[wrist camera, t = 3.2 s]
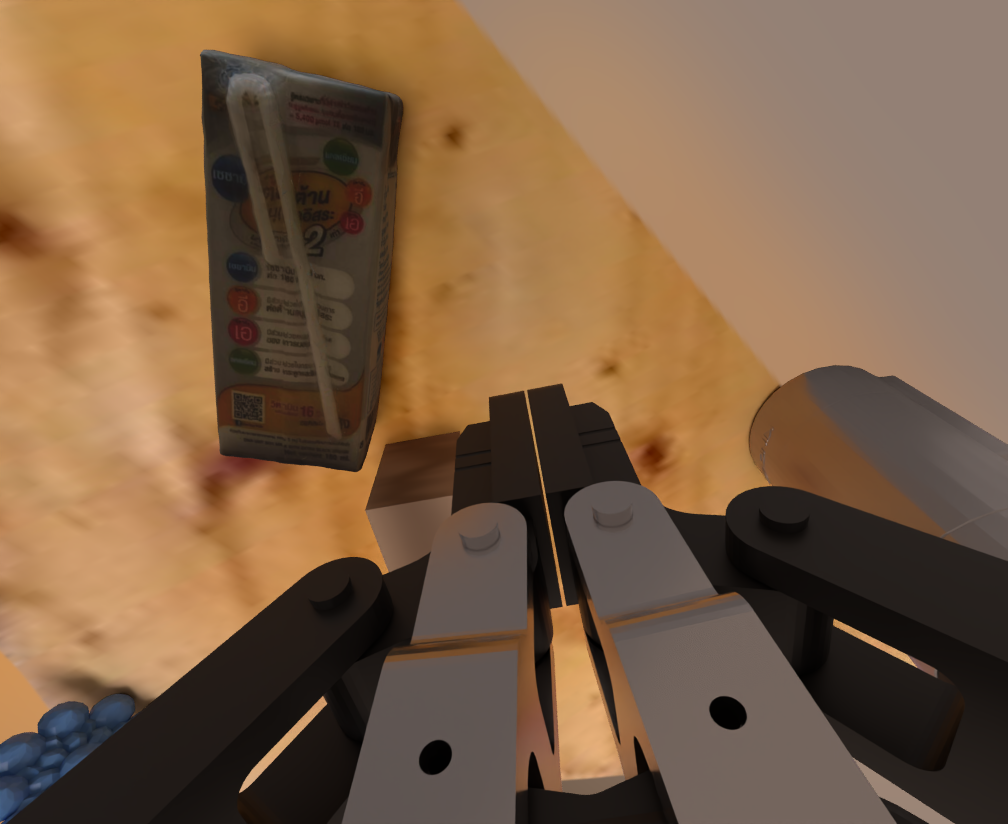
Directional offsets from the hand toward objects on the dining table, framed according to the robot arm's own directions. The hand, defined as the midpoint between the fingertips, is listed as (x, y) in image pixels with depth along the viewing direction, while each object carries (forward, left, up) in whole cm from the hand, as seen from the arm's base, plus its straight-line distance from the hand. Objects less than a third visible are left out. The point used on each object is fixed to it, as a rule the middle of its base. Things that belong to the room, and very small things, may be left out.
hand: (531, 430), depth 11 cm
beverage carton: (+10, 0, -22) cm, 24 cm away
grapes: (+39, +32, -22) cm, 55 cm away
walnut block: (+7, +14, -21) cm, 27 cm away
